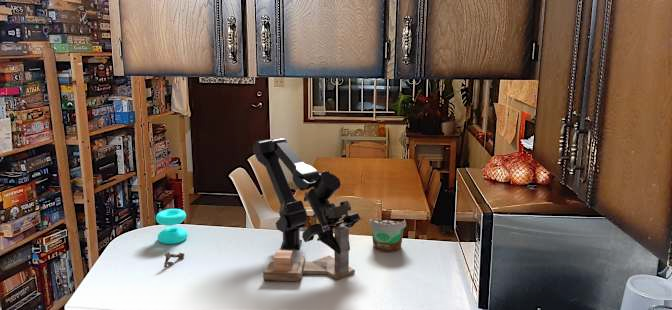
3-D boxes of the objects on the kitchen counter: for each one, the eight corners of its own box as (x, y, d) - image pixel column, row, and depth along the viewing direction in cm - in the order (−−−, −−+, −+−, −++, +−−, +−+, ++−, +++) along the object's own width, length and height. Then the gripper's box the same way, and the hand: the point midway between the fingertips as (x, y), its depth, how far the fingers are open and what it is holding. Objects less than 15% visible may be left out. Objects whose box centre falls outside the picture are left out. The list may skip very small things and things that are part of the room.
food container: (366, 252, 166) (367, 223, 163) (369, 244, 172) (369, 216, 169) (404, 255, 164) (405, 226, 161) (405, 247, 169) (406, 219, 167)
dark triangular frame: (160, 266, 154) (163, 251, 155) (177, 266, 162) (180, 252, 162) (165, 267, 154) (167, 252, 154) (181, 267, 161) (184, 253, 162)
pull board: (249, 271, 152) (246, 225, 149) (313, 249, 167) (312, 207, 164) (287, 299, 137) (286, 249, 133) (354, 272, 152) (355, 226, 148)
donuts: (184, 206, 180) (186, 215, 171) (187, 232, 182) (188, 243, 173) (155, 209, 177) (155, 219, 167) (157, 236, 179) (158, 247, 170)
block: (276, 265, 154) (276, 250, 153) (292, 265, 154) (292, 250, 153) (273, 273, 149) (273, 257, 148) (290, 273, 149) (290, 257, 148)
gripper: (307, 200, 142) (331, 249, 137) (356, 187, 154) (381, 231, 148) (292, 218, 150) (314, 265, 145) (340, 204, 162) (363, 247, 156)
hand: (344, 251), depth 148 cm, fingers closed on pull board, 3 cm apart
